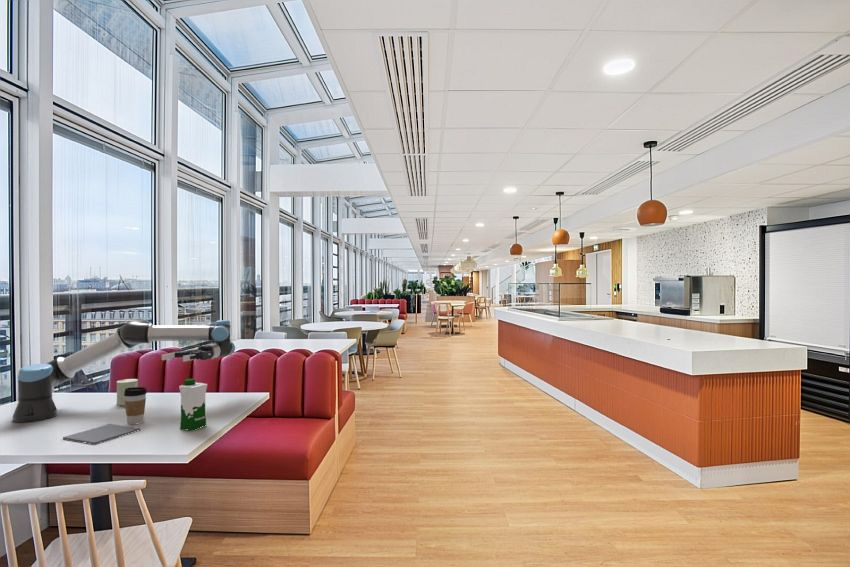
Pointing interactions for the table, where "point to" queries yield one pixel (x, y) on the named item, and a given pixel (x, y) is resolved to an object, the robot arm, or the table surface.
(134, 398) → the coffee cup
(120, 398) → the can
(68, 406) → the table surface
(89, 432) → the mat
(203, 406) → the milk carton
